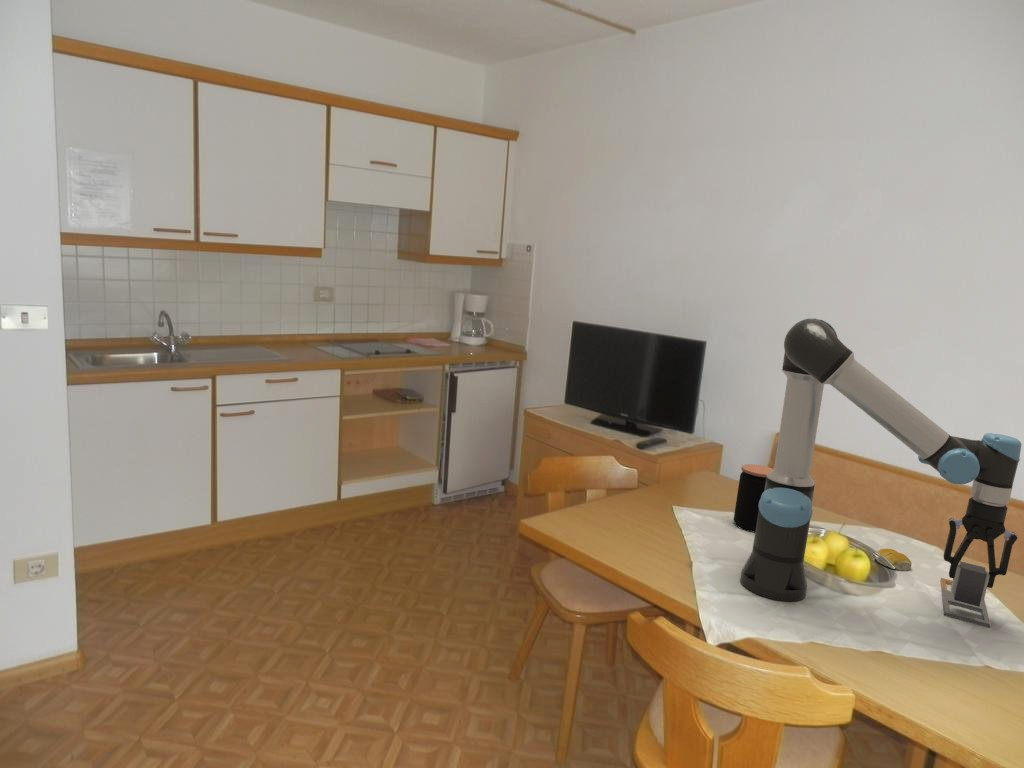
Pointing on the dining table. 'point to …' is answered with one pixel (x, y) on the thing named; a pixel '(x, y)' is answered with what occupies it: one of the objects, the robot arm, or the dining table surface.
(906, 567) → the bread roll
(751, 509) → the coffee jar
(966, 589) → the block
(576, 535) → the dining table surface
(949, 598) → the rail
